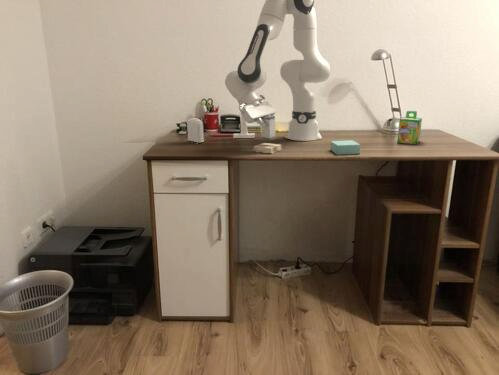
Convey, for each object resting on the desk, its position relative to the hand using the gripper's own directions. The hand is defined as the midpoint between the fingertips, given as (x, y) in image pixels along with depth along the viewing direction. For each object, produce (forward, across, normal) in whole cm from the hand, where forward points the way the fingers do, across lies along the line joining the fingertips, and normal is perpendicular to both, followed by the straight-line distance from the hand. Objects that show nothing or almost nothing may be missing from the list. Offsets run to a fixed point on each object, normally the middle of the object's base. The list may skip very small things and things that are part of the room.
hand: (269, 125), depth 190 cm
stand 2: (+29, +15, -13) cm, 35 cm away
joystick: (-12, +21, +29) cm, 38 cm away
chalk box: (+43, +50, -25) cm, 70 cm away
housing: (+4, 0, +5) cm, 6 cm away
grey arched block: (-22, -2, +39) cm, 45 cm away
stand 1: (+8, -1, +8) cm, 11 cm away
